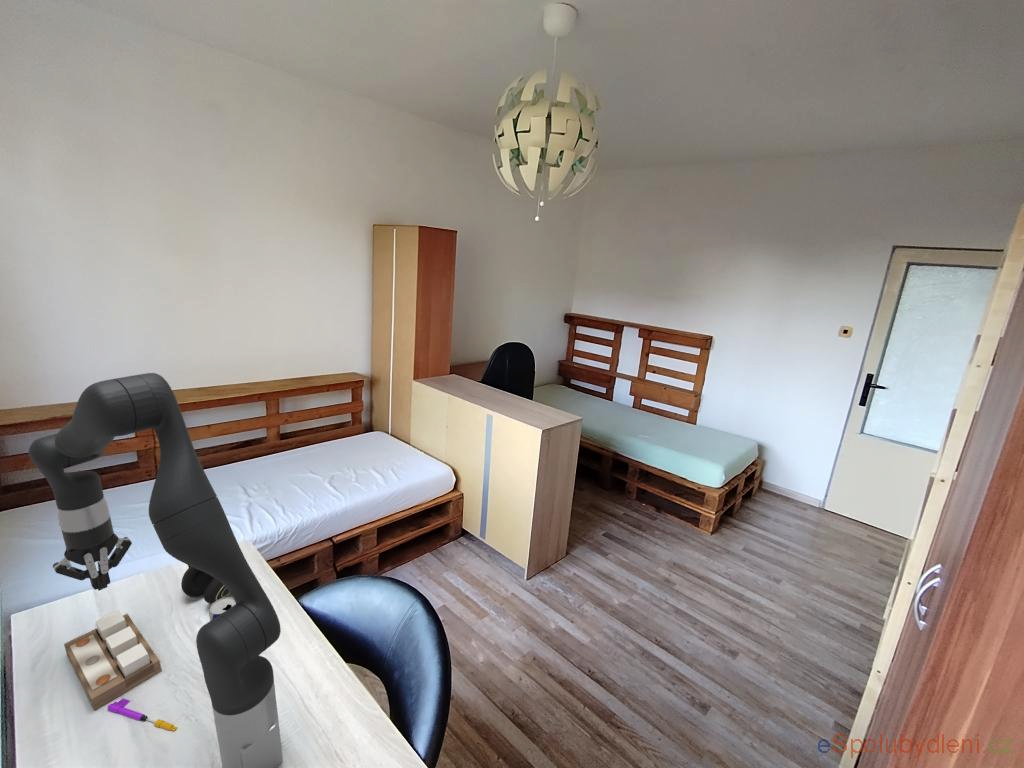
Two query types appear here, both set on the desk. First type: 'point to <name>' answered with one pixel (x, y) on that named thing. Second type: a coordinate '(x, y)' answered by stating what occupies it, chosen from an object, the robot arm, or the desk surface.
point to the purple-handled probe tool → (137, 714)
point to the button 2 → (133, 660)
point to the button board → (106, 666)
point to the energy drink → (221, 606)
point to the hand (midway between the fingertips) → (102, 587)
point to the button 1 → (110, 625)
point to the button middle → (121, 641)
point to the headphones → (203, 585)
